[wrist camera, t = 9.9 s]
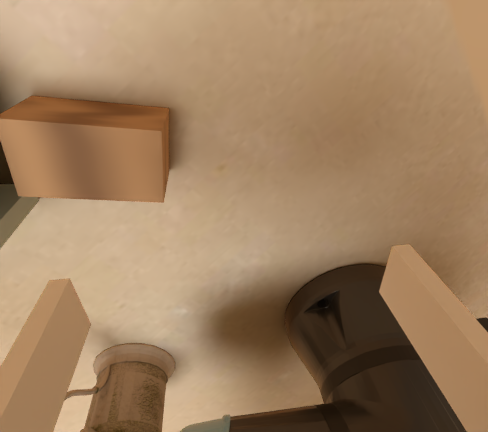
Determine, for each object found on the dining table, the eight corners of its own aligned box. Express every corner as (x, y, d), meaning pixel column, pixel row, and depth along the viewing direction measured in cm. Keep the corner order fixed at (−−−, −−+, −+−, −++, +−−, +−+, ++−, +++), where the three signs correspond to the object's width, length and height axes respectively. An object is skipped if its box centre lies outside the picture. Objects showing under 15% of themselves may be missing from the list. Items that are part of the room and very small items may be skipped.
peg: (168, 107, 23) (161, 131, 19) (169, 169, 26) (163, 202, 21) (32, 95, 21) (-7, 118, 17) (49, 162, 24) (18, 196, 20)
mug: (189, 370, 42) (185, 483, 32) (128, 394, 44) (107, 509, 34) (117, 311, 34) (83, 438, 24) (46, 343, 36) (-13, 474, 26)
